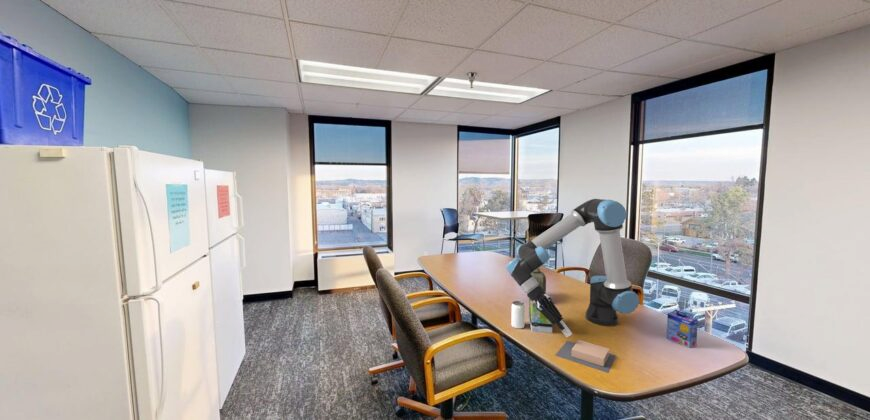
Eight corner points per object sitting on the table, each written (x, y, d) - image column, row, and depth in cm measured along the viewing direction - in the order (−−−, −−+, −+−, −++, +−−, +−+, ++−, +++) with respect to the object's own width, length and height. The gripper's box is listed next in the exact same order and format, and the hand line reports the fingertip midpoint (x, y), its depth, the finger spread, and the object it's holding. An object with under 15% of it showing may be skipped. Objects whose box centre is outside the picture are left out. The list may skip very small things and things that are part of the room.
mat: (554, 356, 135) (554, 355, 135) (566, 341, 147) (566, 340, 147) (608, 374, 122) (608, 373, 122) (616, 356, 135) (616, 355, 135)
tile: (571, 349, 133) (603, 359, 126) (578, 339, 141) (609, 348, 133) (571, 356, 134) (603, 367, 126) (578, 347, 141) (609, 356, 134)
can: (522, 330, 159) (522, 306, 158) (509, 327, 162) (509, 304, 161) (526, 325, 164) (526, 302, 163) (513, 322, 168) (513, 299, 167)
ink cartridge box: (665, 338, 149) (667, 308, 148) (672, 335, 152) (673, 306, 151) (690, 348, 141) (692, 316, 139) (696, 345, 143) (698, 313, 142)
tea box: (553, 334, 154) (553, 304, 153) (531, 332, 156) (531, 303, 155) (548, 321, 169) (549, 293, 168) (528, 319, 171) (529, 292, 170)
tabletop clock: (526, 296, 205) (527, 257, 203) (541, 296, 204) (542, 257, 202) (529, 304, 191) (530, 263, 189) (545, 305, 190) (546, 263, 188)
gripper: (532, 289, 154) (567, 333, 145) (521, 297, 144) (558, 345, 135) (543, 281, 150) (580, 325, 141) (532, 288, 140) (571, 337, 131)
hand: (569, 335), depth 138 cm, fingers closed
